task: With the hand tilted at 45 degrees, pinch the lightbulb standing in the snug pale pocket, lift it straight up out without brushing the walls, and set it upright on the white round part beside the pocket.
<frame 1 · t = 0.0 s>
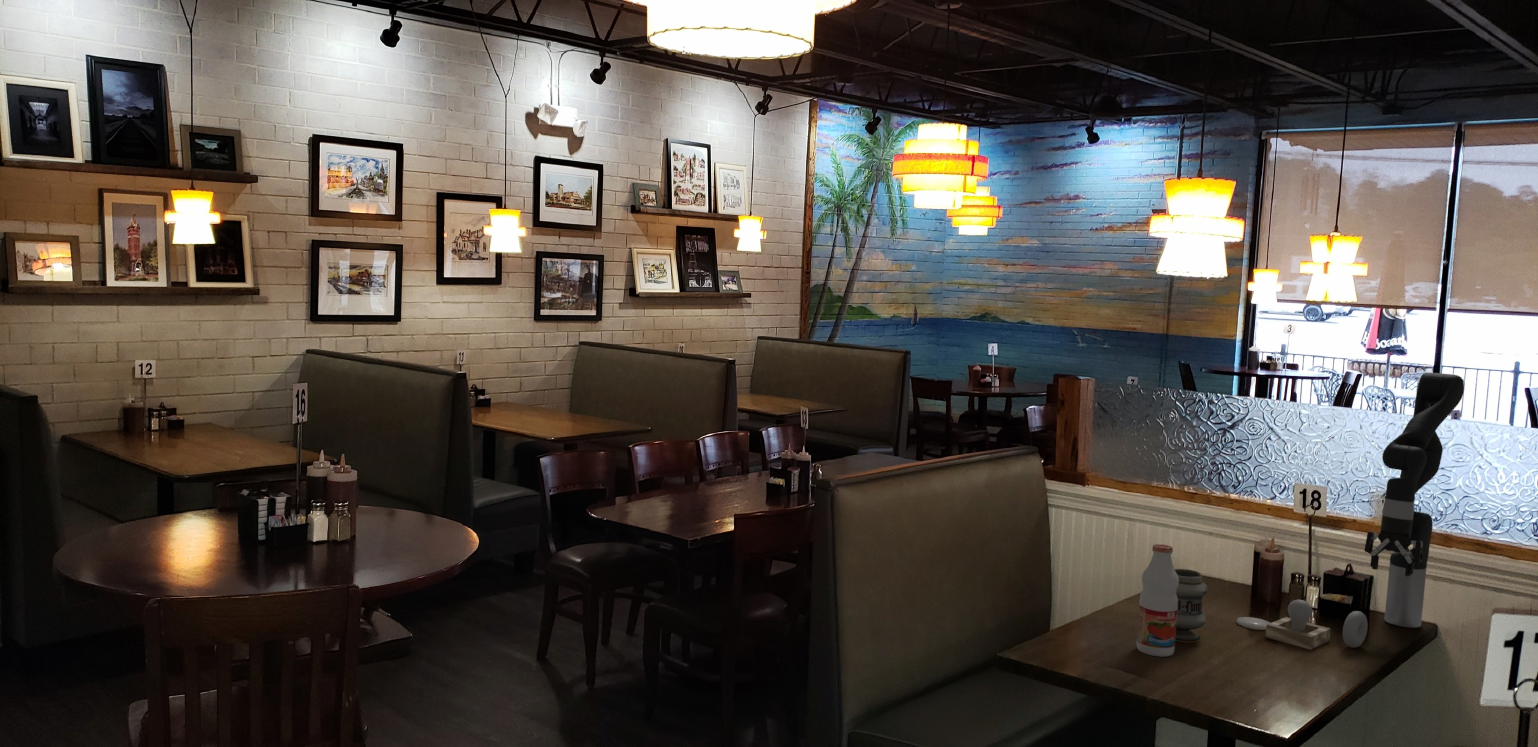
hand: (1390, 572, 302), 17 cm above the table, tool pointing down, fingers open, 8 cm apart
pocket: (1297, 638, 294), on the table
lightbulb: (1297, 639, 294), resting in pocket
donut: (1353, 647, 289), on the table
fruit juice: (1155, 651, 280), on the table
white round part: (1254, 624, 305), on the table
apothecary jar: (1180, 637, 293), on the table
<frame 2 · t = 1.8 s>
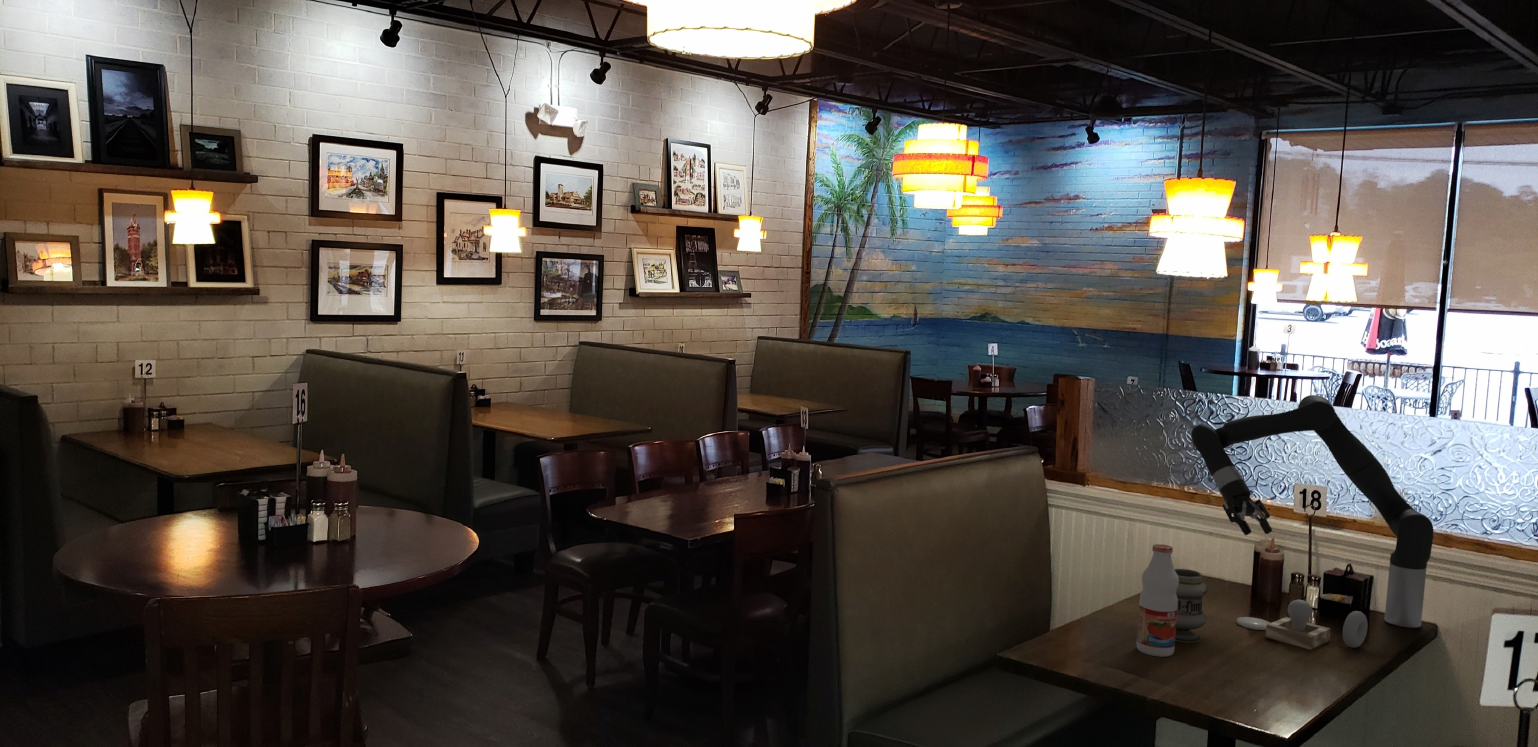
hand: (1259, 533, 306), 26 cm above the table, tool tilted 45°, fingers open, 8 cm apart
nothing on the table moved.
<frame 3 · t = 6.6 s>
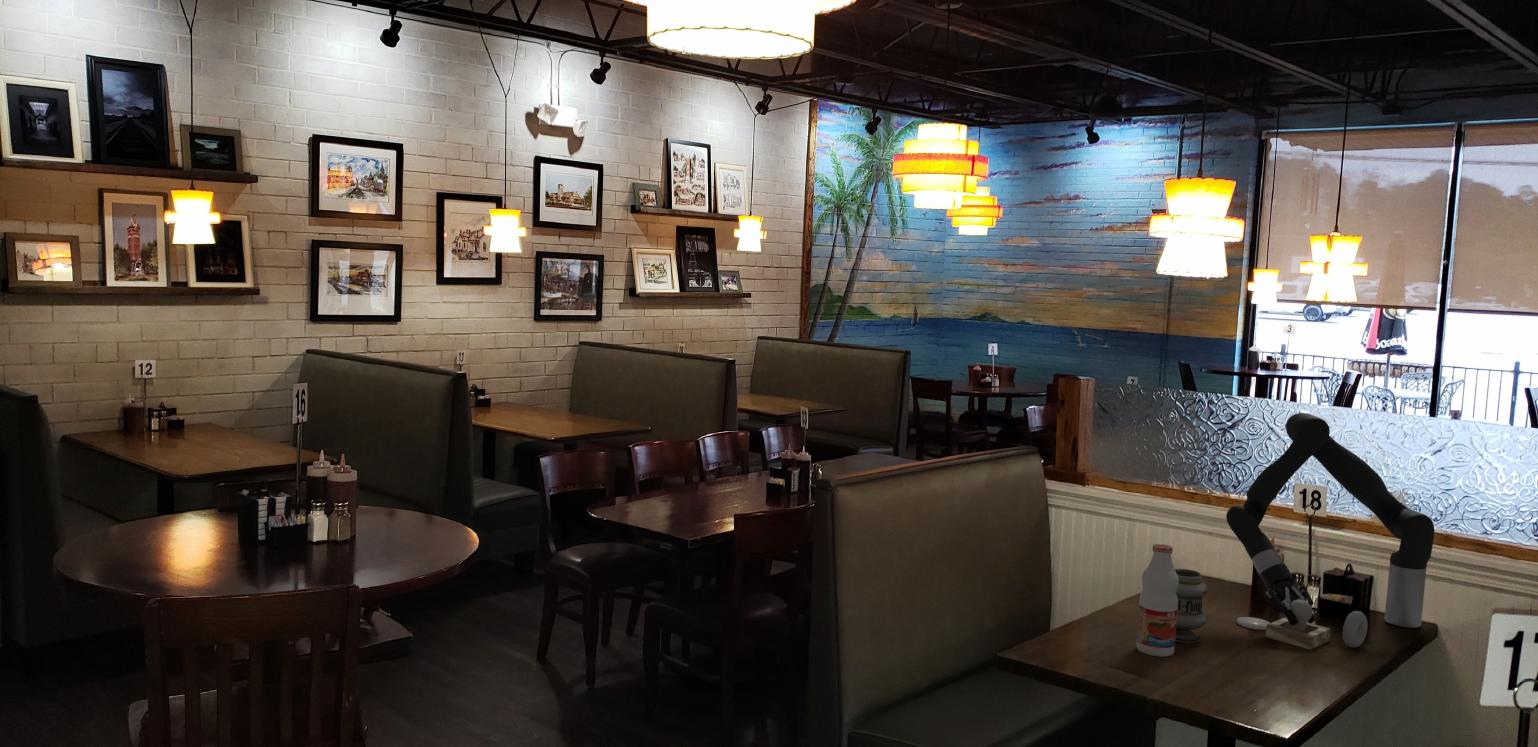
hand: (1304, 622, 292), 5 cm above the table, tool tilted 45°, fingers closed on lightbulb, 6 cm apart
lightbulb: (1297, 639, 294), resting in pocket, touching gripper
everything else where it was.
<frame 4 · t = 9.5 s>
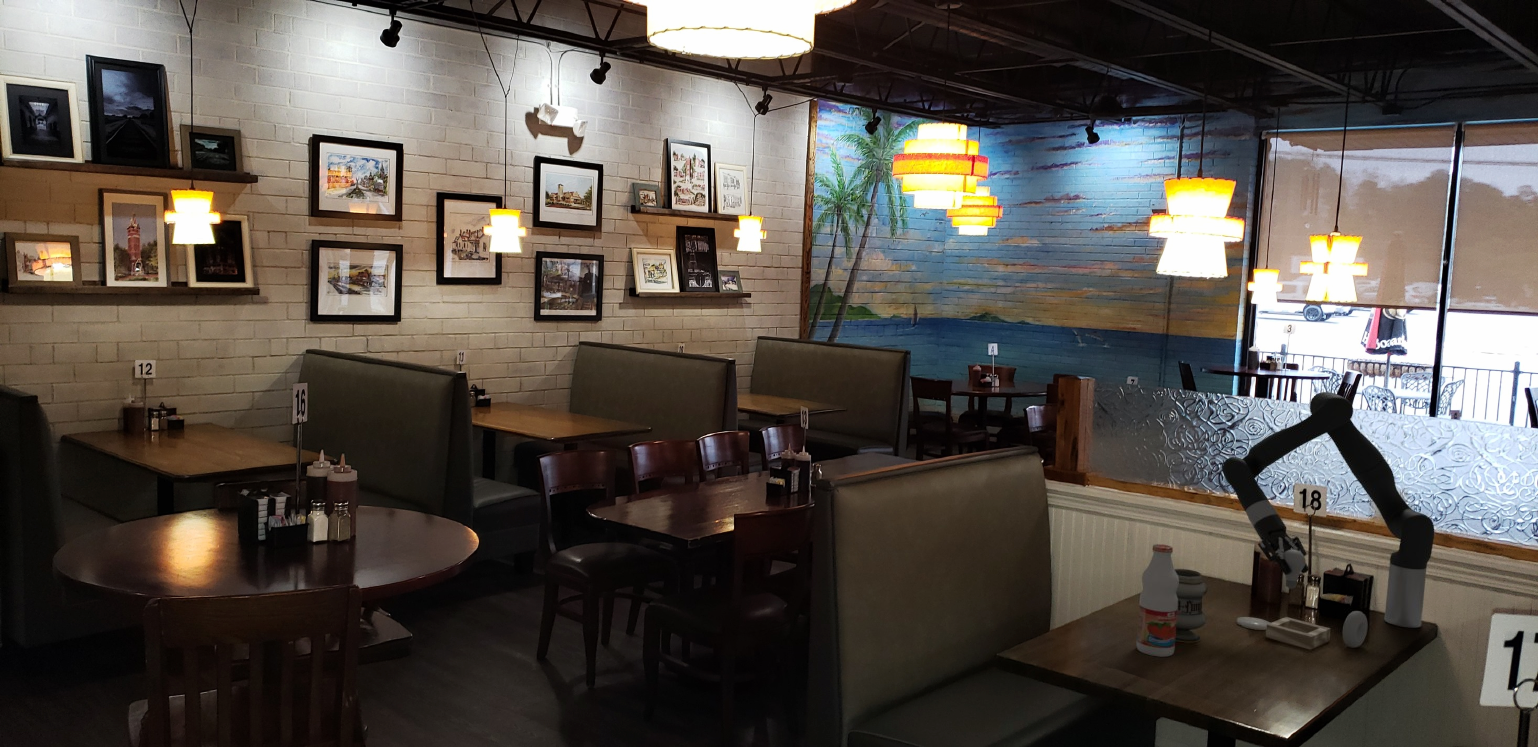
hand: (1297, 572, 294), 18 cm above the table, tool tilted 45°, fingers closed on lightbulb, 6 cm apart
lightbulb: (1290, 589, 296), point 13 cm above the table, touching gripper
everything else where it was.
when the fingers open (7 cm above the table, at t = 12.7 s): lightbulb drops 1 cm, resting on white round part.
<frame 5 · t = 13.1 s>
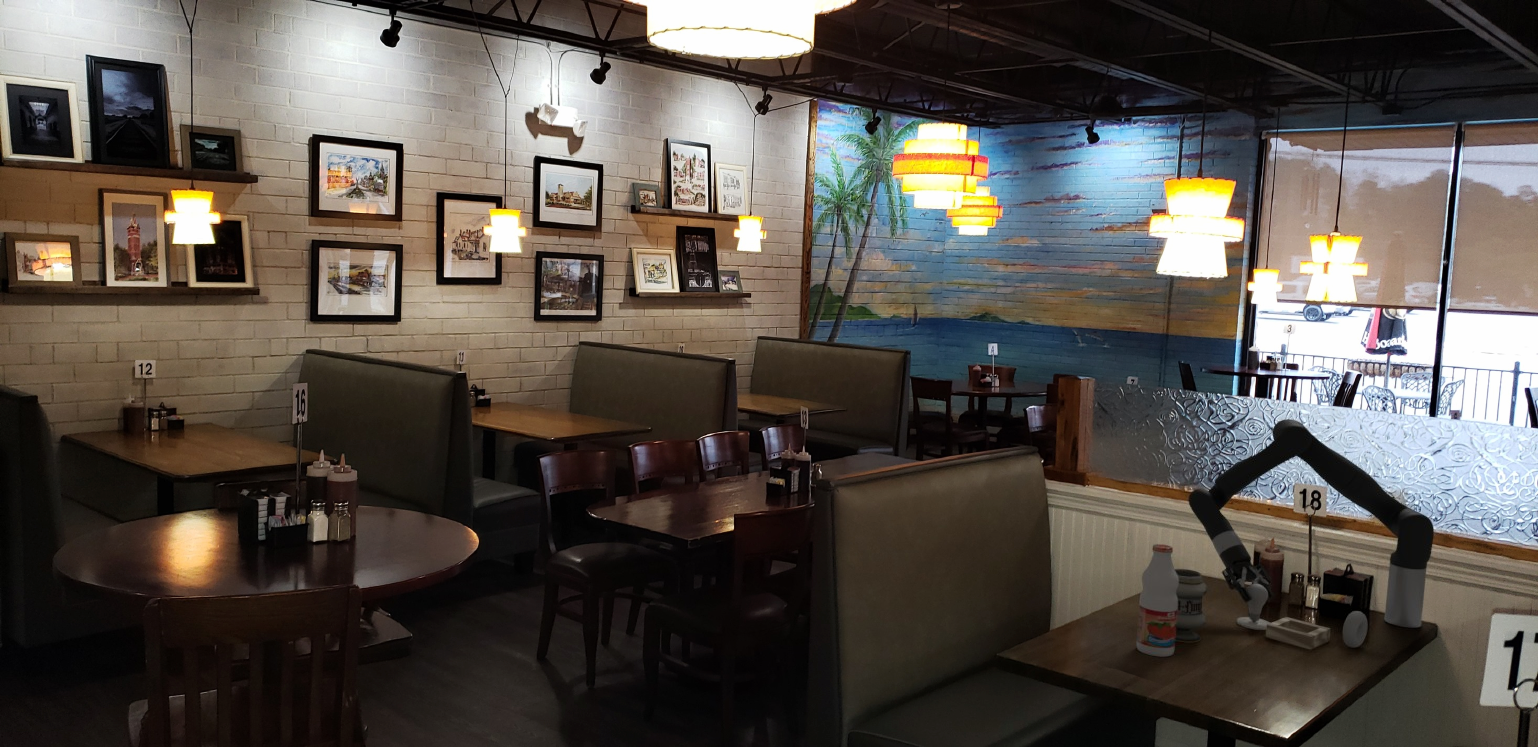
hand: (1260, 599, 303), 8 cm above the table, tool tilted 45°, fingers open, 8 cm apart
lightbulb: (1254, 622, 306), point 1 cm above the table, touching white round part
everything else where it was.
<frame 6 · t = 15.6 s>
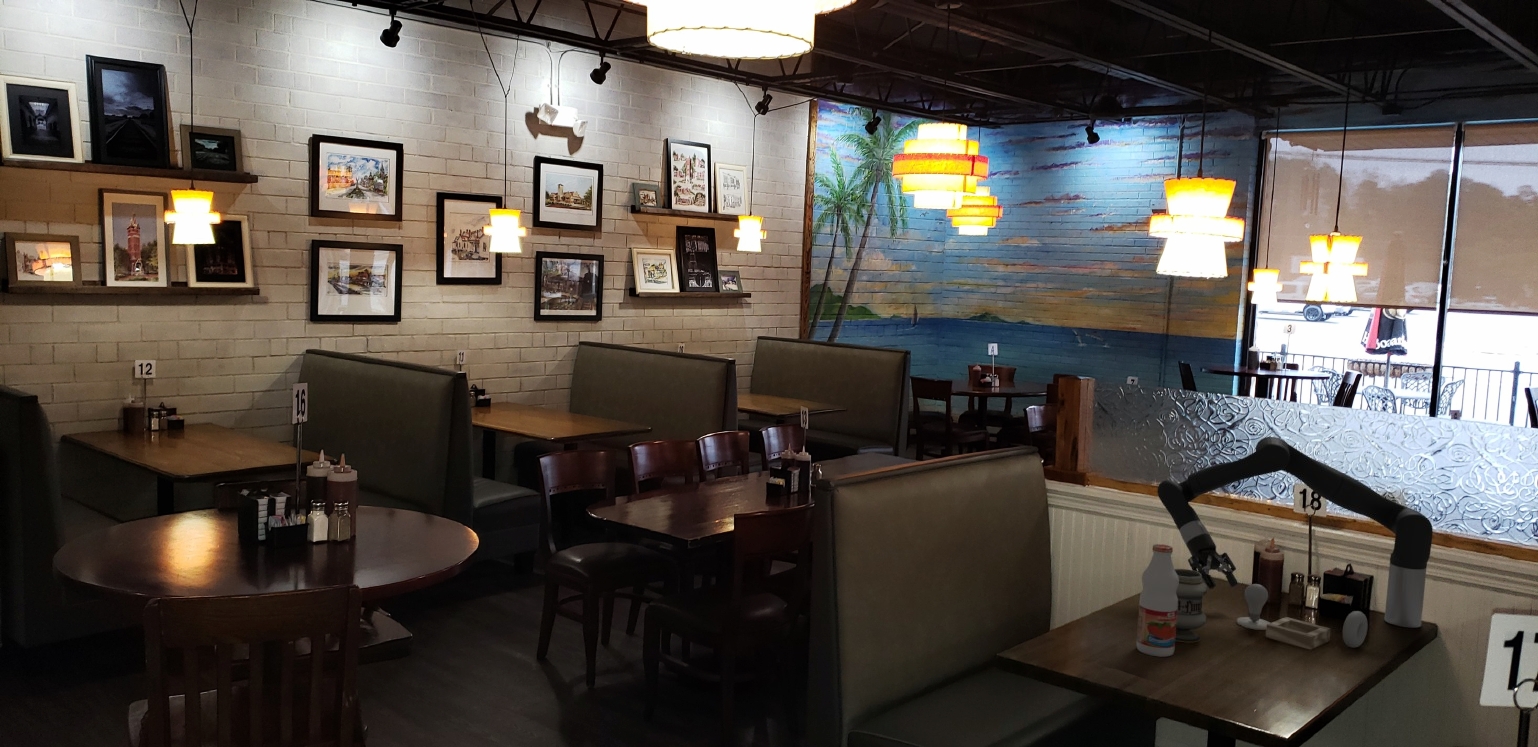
hand: (1224, 586, 315), 8 cm above the table, tool tilted 45°, fingers open, 8 cm apart
nothing on the table moved.
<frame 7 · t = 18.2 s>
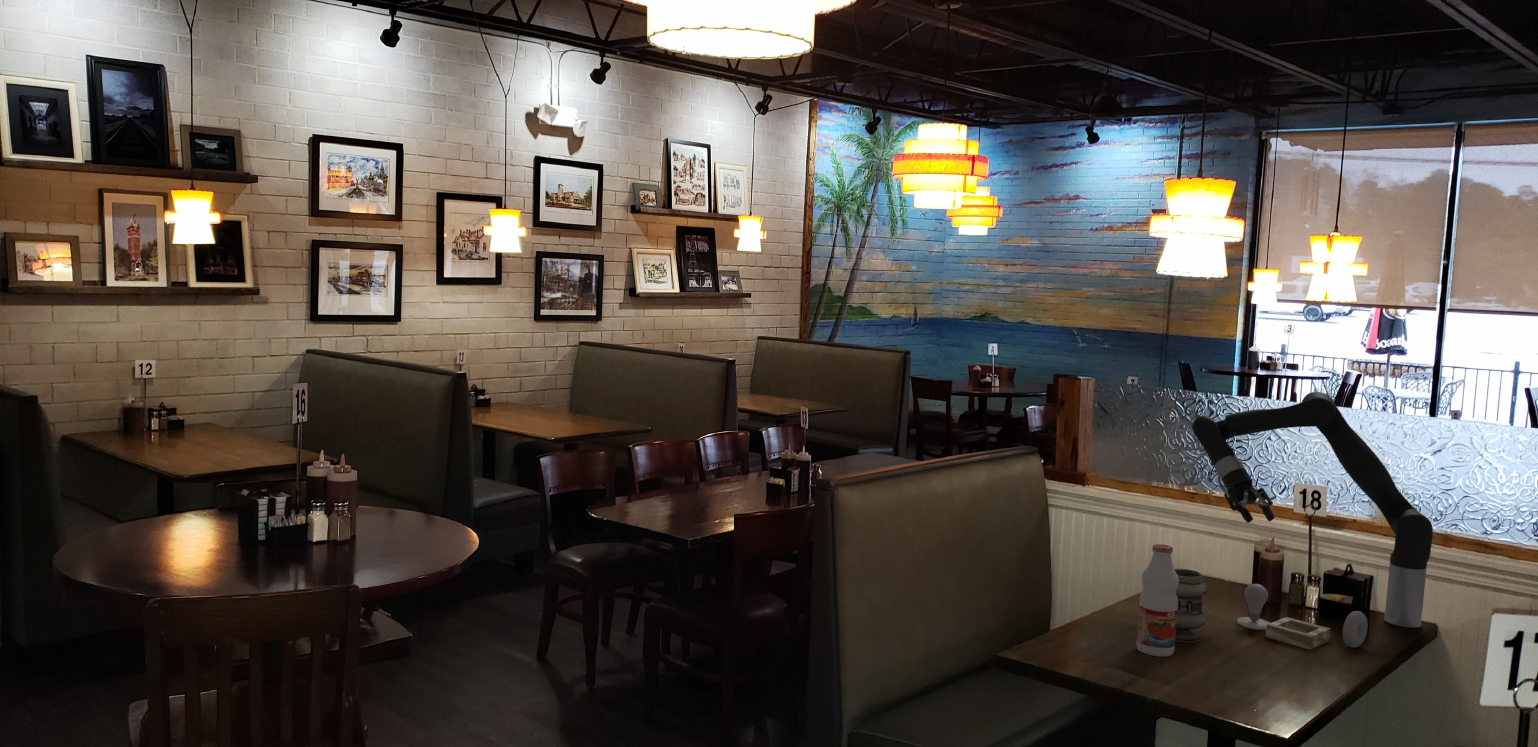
hand: (1261, 520, 311), 29 cm above the table, tool tilted 45°, fingers open, 8 cm apart
nothing on the table moved.
at the end: lightbulb 0.2 cm off-centre on the white round part, point 0.6 cm above the white round part's base; lightbulb tilted 0°; the gripper is holding nothing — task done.
